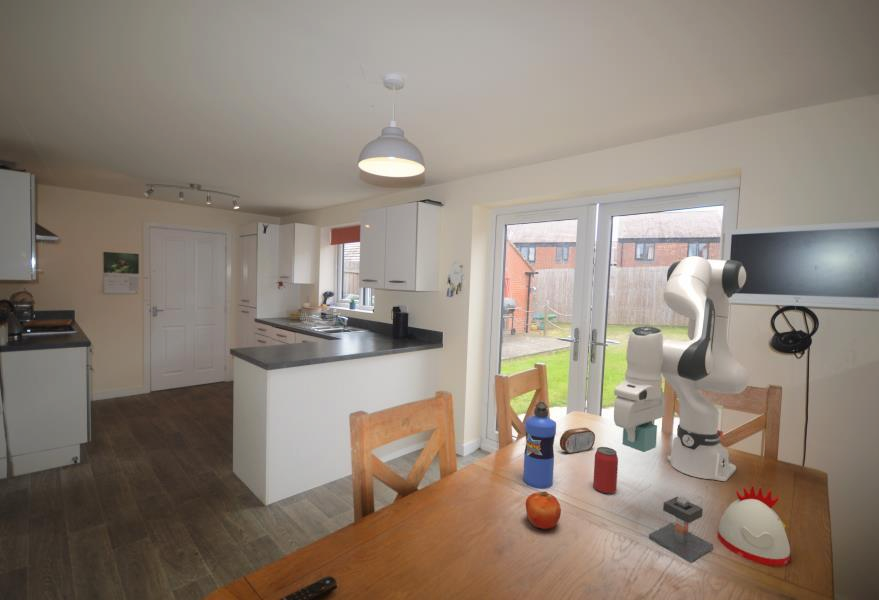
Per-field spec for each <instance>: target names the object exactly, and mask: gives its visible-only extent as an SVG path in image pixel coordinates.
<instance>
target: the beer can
mask: <svg viewBox="0 0 879 600" xmlns="http://www.w3.org/2000/svg"><path fill="white" fill-rule="evenodd" d="M617 453H618V452H617V450H615V449H613V448H611V447H608V446H607V447H606V446H600V447H597V448H596V451H595V453H594V462H593V463H594V466H593V481H592V482H593V483H592V484H593V485H592V486H593V487H594V489H595V490H597V491H598V492H600V493H603V494H613V493H615V492H616V491H617V485H618V483H617V482H618V467H619V466H618V465H619V458H618V454H617Z"/></svg>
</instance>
